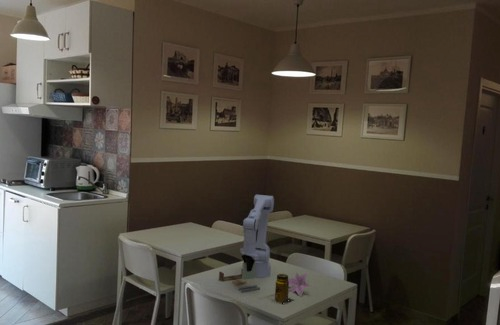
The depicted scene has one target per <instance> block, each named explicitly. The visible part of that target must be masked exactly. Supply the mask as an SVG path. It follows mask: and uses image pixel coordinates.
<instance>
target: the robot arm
mask: <svg viewBox="0 0 500 325" xmlns="http://www.w3.org/2000/svg"><path fill="white" fill-rule="evenodd" d="M274 205H275V198H274V195H264V194H258V193H257V194H255V195H254V197H253V206H254V207H253V209H250V211H249V214H248V215H247V217H246V218H244V219H243V220H242V229H243V247H240V249H239V252H240V253H241V258H242V261H243V263H245V262H246V265H247V271H248V272H249V271H252V267H253V264H254V262H255V270H254V278H255V279H262V278H267V277H271V271H272V270H271V268H272V267H271V266H272V265H271V262H270V258H271V252H270V251H271V248H270V246H269V245H267V243H266V242H267V241H266V239H267V233H268V224H269V217H270V213H272V212H273V210H274V207H275V206H274Z"/></svg>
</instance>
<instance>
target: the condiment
mask: <svg viewBox="0 0 500 325" xmlns="http://www.w3.org/2000/svg"><path fill="white" fill-rule="evenodd" d="M288 279H289V275H288V274H286V273H279V274H277V276H276V281H275V288H274V289H275V291H274V292H275V293H274V298H273V299H271V301H272V302H275V301H276V302H275V303H278V302H279V303H278V304H281V305H287V304H288V303H290V302H293V300H295V298H290V297H289V291H290V290H289V287H290V286H289V285H290V284H289V281H288ZM288 300H289V301H288ZM282 303H283V304H282Z"/></svg>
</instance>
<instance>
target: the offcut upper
mask: <svg viewBox="0 0 500 325" xmlns="http://www.w3.org/2000/svg"><path fill="white" fill-rule="evenodd" d="M231 282H232V283H233V284H232V283H231V284H232V285H234V284H235V285H238V286H243V285H242V284H244V285H247V284H248V281H247V280H243V279H237V280H231ZM246 283H247V284H246ZM235 285H234V286H235Z"/></svg>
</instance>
